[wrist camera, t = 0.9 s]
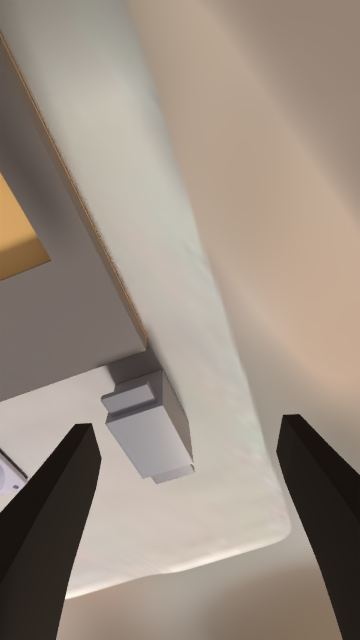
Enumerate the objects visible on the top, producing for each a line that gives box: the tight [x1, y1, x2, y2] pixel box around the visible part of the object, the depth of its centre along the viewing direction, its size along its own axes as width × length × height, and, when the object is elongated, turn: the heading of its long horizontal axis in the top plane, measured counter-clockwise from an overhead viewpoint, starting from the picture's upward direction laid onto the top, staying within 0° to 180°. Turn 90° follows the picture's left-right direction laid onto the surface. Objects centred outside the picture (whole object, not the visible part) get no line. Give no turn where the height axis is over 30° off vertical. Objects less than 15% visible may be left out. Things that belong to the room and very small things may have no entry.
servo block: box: [101, 369, 195, 484], centre depth 20 cm, size 4×9×4 cm, turn 20°
